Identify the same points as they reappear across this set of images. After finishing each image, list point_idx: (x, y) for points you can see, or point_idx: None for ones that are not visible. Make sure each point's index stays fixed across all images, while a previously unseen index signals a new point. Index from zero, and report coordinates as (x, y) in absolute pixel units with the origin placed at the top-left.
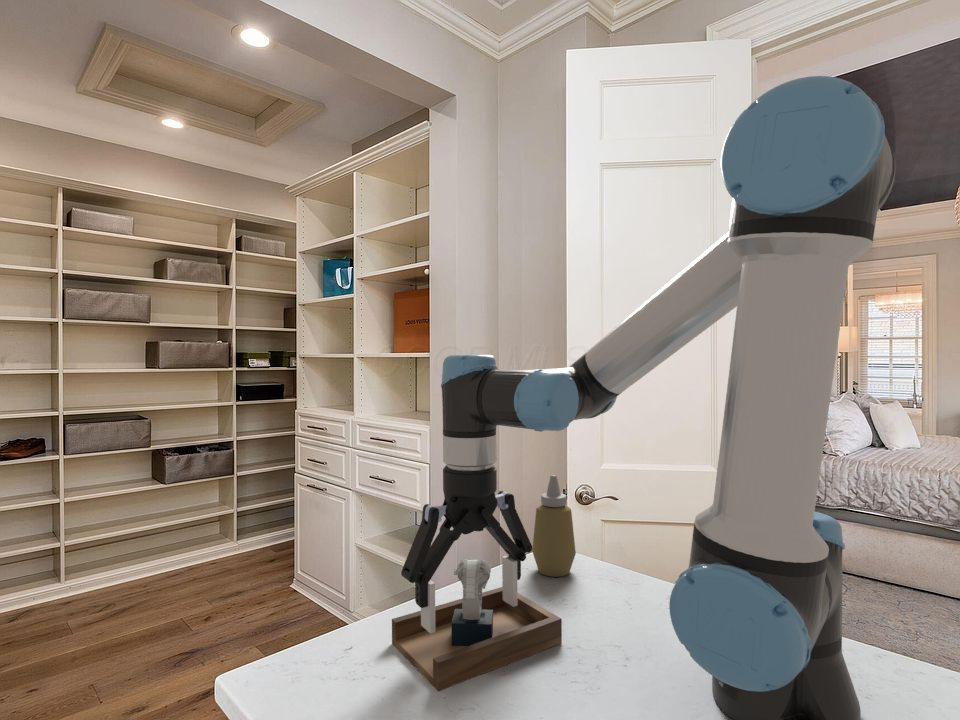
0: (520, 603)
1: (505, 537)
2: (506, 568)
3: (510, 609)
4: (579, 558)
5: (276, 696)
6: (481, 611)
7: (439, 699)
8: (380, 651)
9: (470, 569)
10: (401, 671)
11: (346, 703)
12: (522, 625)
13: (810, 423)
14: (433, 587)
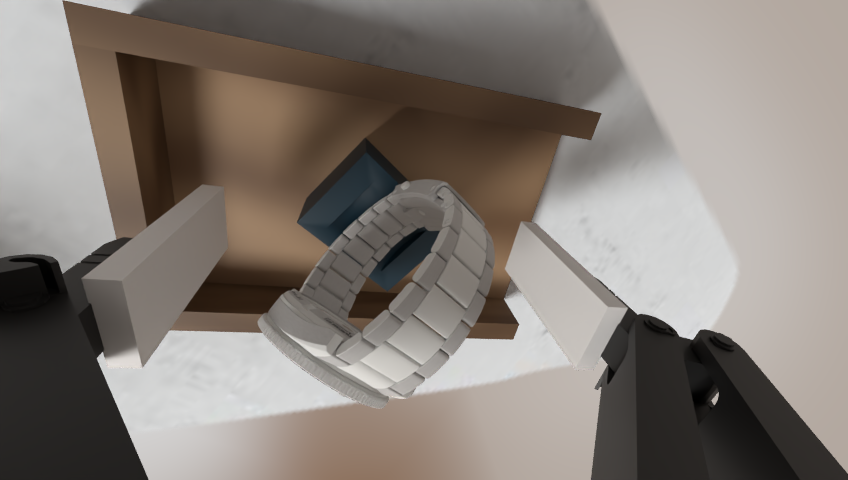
0: None
1: (56, 454)
2: (164, 301)
3: None
4: None
5: (702, 279)
6: (335, 235)
7: (580, 77)
8: None
9: (451, 305)
10: (550, 216)
11: (673, 196)
12: (205, 164)
13: None
14: (604, 297)
